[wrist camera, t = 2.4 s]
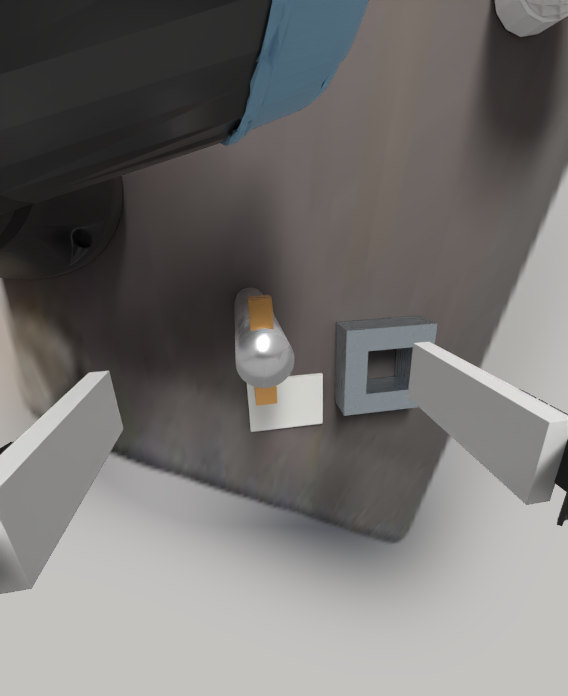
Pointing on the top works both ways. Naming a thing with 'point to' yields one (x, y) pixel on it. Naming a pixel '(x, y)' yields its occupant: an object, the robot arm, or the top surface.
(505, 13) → the white cup
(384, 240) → the top surface
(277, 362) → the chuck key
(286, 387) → the mat
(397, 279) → the top surface
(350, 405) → the block
